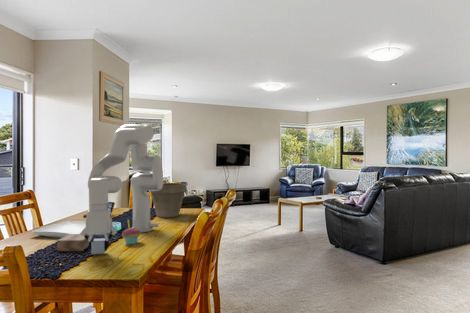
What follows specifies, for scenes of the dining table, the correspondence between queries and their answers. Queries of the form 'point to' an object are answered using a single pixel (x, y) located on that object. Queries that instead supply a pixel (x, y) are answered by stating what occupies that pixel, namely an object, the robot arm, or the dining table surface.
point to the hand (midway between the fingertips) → (99, 249)
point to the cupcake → (131, 234)
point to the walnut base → (72, 243)
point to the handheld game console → (109, 208)
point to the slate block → (98, 246)
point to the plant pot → (168, 199)
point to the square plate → (61, 229)
